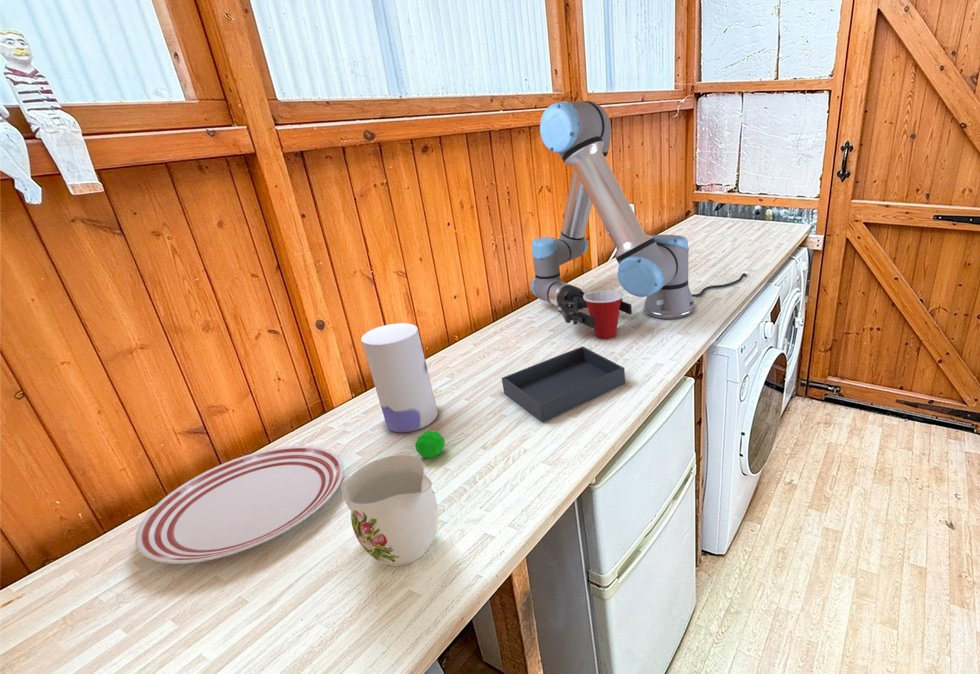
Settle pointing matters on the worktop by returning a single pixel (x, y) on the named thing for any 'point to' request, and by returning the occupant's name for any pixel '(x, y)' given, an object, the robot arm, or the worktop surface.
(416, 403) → the container
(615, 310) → the plastic cup
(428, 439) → the polyhedron
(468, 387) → the worktop surface
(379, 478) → the pitcher
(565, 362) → the dark grey tray
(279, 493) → the dinner plate
